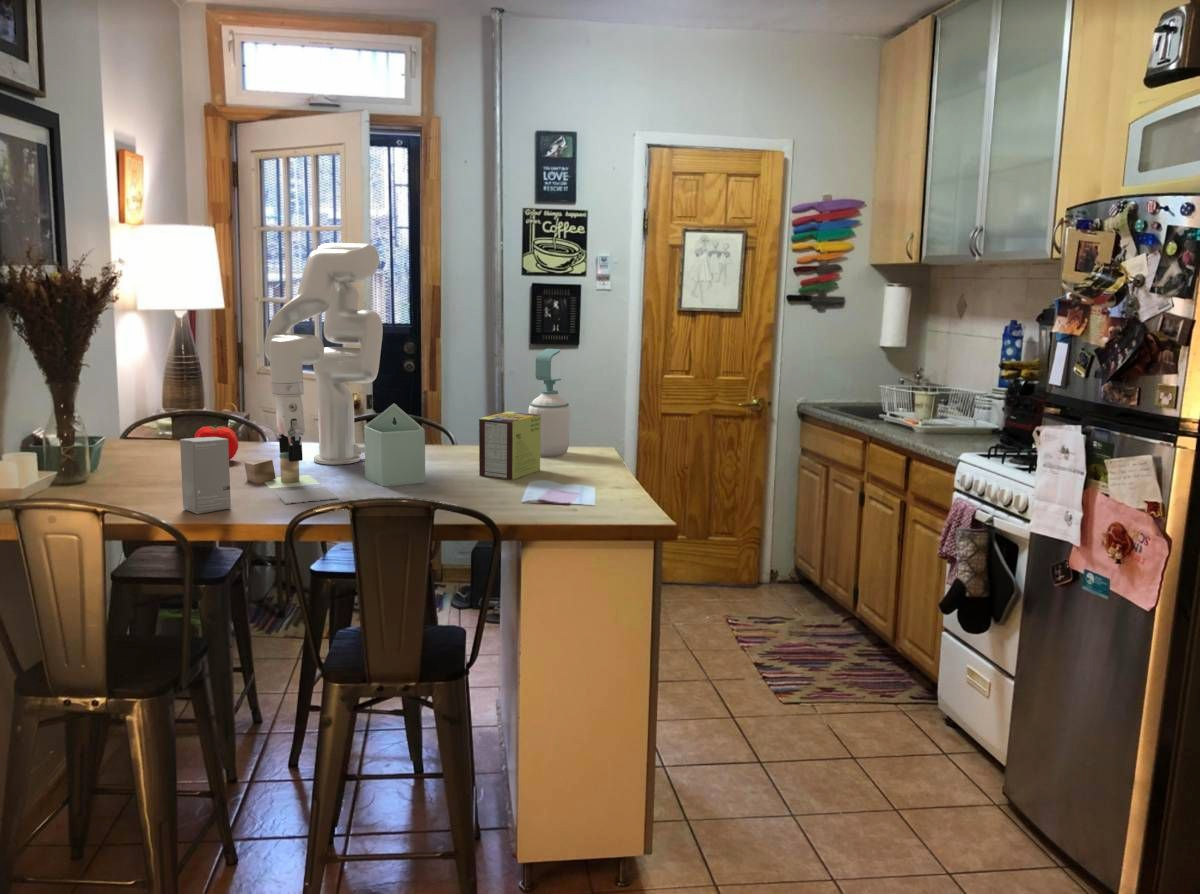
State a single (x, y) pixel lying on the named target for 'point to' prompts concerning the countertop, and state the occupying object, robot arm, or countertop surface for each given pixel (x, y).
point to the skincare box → (205, 474)
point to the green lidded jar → (288, 469)
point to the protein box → (509, 445)
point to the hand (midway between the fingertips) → (291, 456)
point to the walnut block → (260, 470)
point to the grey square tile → (305, 495)
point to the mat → (303, 481)
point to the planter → (394, 449)
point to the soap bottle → (551, 409)
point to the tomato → (220, 436)
